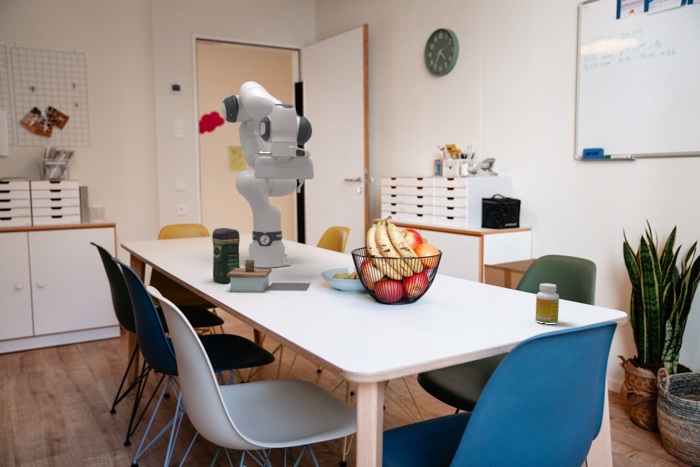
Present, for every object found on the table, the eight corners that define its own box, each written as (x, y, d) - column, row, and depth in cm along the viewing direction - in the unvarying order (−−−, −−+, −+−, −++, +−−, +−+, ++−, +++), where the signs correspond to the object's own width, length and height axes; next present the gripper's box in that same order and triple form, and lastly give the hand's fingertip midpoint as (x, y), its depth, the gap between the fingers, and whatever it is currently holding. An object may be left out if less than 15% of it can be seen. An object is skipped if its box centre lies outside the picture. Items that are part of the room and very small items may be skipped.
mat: (272, 283, 195) (272, 282, 194) (310, 284, 194) (310, 283, 194) (265, 291, 182) (265, 290, 182) (306, 292, 181) (306, 290, 181)
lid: (235, 271, 190) (235, 257, 189) (271, 271, 190) (271, 258, 189) (226, 277, 178) (226, 263, 177) (265, 277, 178) (265, 263, 177)
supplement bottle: (555, 326, 141) (556, 287, 140) (533, 323, 144) (534, 285, 143) (559, 321, 146) (561, 284, 145) (538, 318, 149) (539, 282, 148)
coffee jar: (244, 282, 198) (243, 228, 196) (223, 284, 192) (222, 229, 190) (229, 278, 205) (228, 226, 203) (209, 280, 199) (208, 227, 197)
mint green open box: (237, 286, 189) (237, 271, 189) (268, 286, 189) (268, 271, 189) (230, 292, 179) (230, 277, 179) (263, 293, 179) (262, 277, 178)
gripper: (252, 151, 192) (252, 192, 194) (312, 151, 192) (312, 193, 193) (255, 151, 199) (255, 191, 200) (314, 152, 198) (314, 192, 200)
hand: (284, 192), depth 197 cm, fingers open, 8 cm apart
